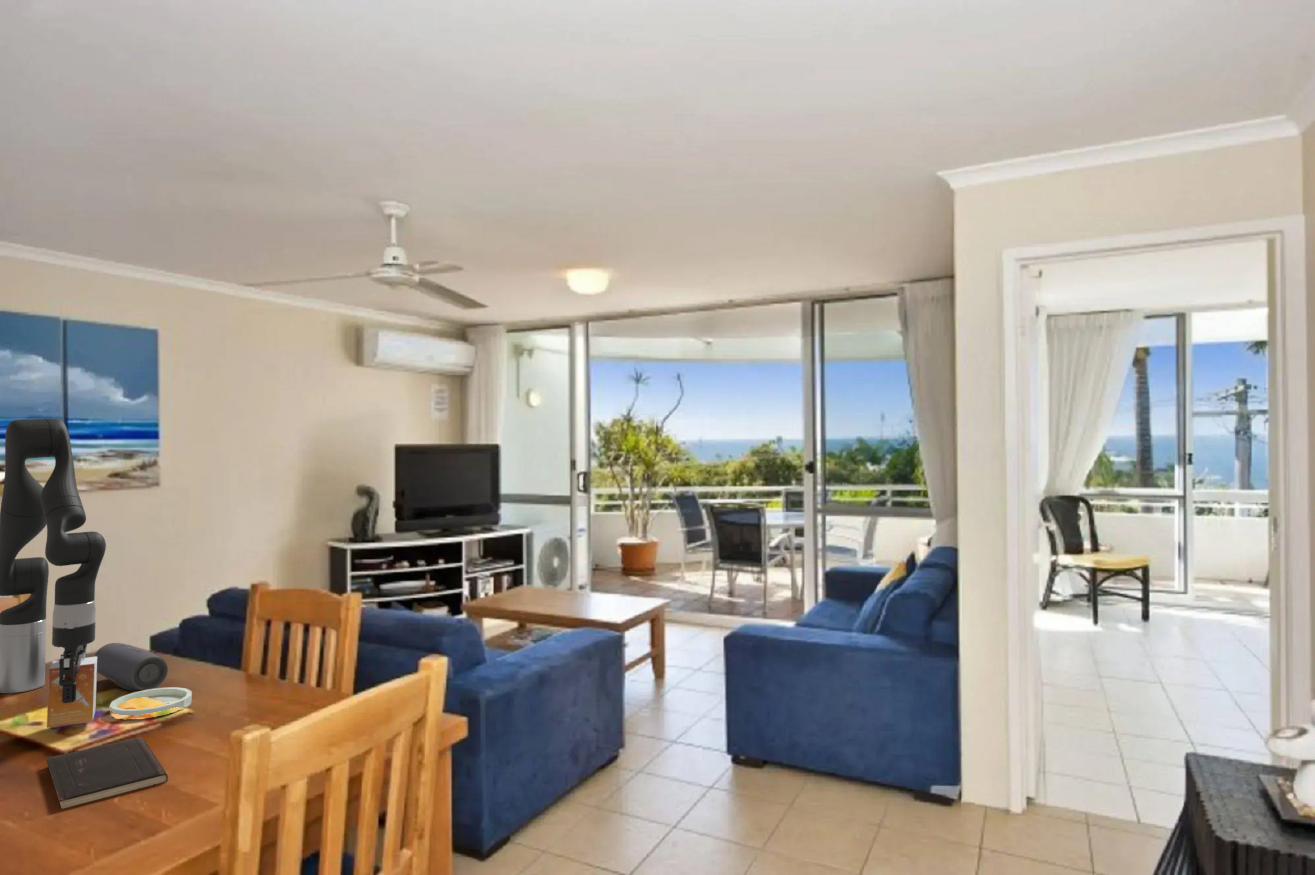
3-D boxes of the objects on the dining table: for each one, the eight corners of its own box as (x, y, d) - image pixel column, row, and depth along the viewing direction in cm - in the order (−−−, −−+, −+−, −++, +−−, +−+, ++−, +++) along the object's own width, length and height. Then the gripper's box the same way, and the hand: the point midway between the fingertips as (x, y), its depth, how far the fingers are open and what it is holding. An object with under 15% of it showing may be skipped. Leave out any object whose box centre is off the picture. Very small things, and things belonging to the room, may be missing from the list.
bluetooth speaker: (170, 689, 188) (171, 650, 189) (128, 700, 181) (129, 659, 181) (130, 673, 201) (130, 637, 201) (89, 682, 193) (90, 644, 193)
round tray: (116, 702, 179) (116, 693, 179) (193, 692, 186) (193, 683, 186) (104, 724, 165) (104, 715, 165) (188, 713, 172) (188, 704, 172)
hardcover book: (58, 813, 127) (59, 800, 127) (45, 769, 143) (46, 758, 144) (167, 784, 138) (168, 772, 138) (144, 747, 155) (144, 736, 155)
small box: (46, 728, 158) (47, 668, 158) (50, 719, 163) (52, 660, 163) (93, 721, 163) (95, 663, 163) (96, 712, 168) (97, 655, 168)
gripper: (60, 616, 168) (58, 689, 168) (44, 631, 155) (42, 710, 155) (101, 613, 171) (99, 684, 171) (88, 628, 159) (87, 705, 159)
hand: (72, 696), depth 163 cm, fingers closed on small box, 6 cm apart
